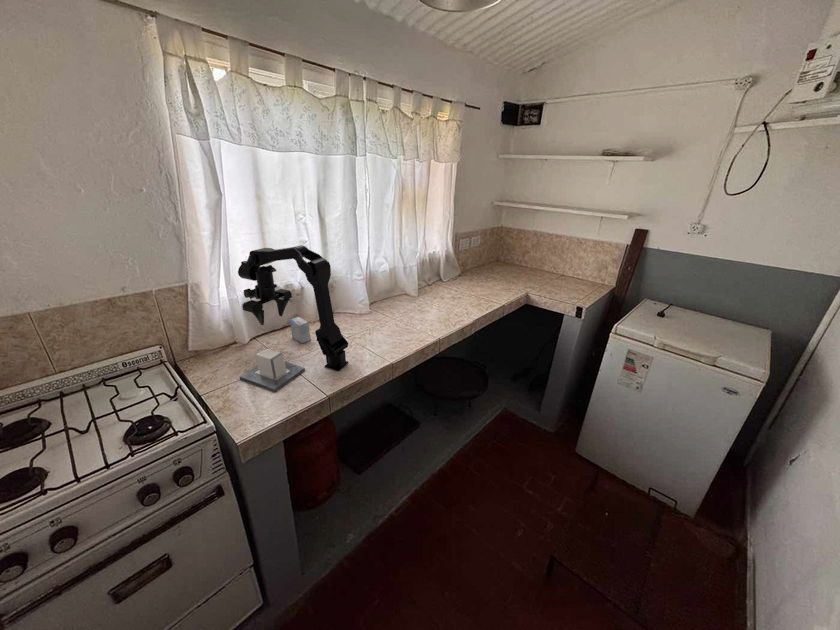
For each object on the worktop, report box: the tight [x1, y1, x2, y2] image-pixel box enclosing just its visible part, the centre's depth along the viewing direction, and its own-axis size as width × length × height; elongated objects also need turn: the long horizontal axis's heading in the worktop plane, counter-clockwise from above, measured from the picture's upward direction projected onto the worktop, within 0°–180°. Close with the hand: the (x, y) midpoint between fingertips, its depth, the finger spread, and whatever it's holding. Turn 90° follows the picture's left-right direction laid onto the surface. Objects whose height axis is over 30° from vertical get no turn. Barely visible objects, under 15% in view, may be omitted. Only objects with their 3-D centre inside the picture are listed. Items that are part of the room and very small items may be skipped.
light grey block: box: [255, 348, 286, 378], centre depth 113 cm, size 5×8×7 cm, turn 66°
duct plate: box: [239, 361, 306, 393], centre depth 115 cm, size 16×14×1 cm
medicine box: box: [289, 316, 311, 344], centre depth 138 cm, size 8×4×9 cm, turn 48°
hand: (271, 320), depth 128 cm, fingers open, 9 cm apart
